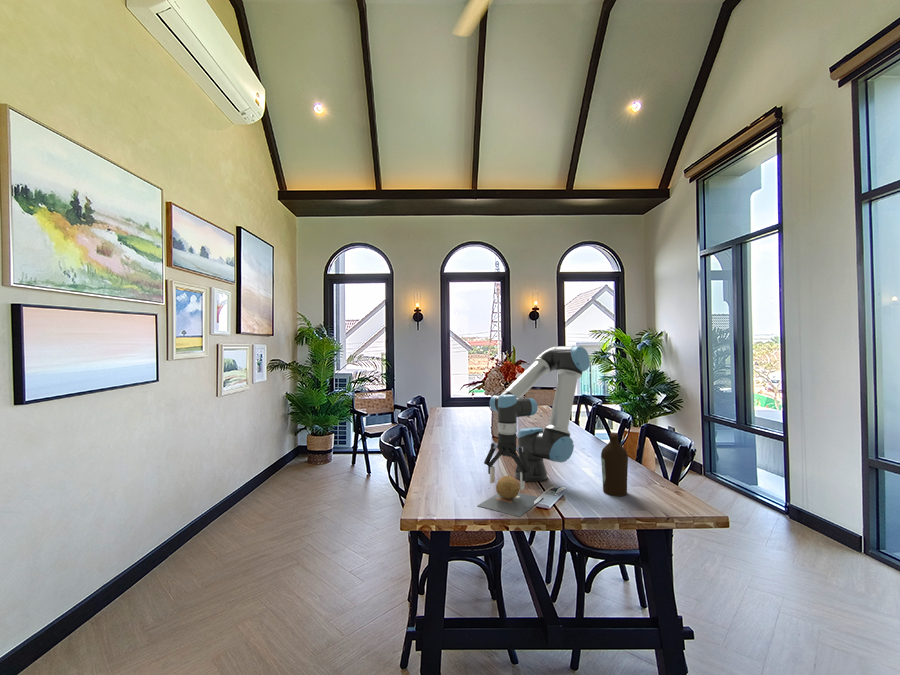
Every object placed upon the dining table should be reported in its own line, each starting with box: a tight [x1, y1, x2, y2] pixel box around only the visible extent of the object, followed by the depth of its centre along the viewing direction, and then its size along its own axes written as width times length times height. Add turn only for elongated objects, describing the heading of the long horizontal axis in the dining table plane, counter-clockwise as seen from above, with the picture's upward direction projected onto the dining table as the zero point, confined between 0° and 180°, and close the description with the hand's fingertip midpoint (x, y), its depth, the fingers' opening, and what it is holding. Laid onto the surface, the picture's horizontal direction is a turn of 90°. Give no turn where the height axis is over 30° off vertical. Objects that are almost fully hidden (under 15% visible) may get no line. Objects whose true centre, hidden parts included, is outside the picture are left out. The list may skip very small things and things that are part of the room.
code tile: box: [477, 492, 539, 518], centre depth 161 cm, size 22×18×1 cm
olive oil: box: [600, 431, 629, 497], centre depth 173 cm, size 11×11×25 cm
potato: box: [495, 475, 521, 499], centre depth 166 cm, size 10×14×8 cm
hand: (506, 485), depth 166 cm, fingers open, 13 cm apart
